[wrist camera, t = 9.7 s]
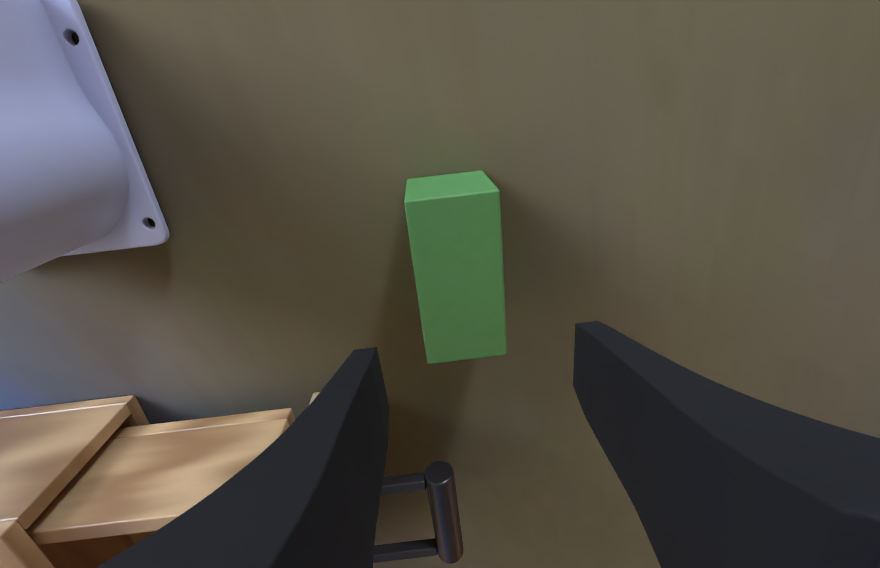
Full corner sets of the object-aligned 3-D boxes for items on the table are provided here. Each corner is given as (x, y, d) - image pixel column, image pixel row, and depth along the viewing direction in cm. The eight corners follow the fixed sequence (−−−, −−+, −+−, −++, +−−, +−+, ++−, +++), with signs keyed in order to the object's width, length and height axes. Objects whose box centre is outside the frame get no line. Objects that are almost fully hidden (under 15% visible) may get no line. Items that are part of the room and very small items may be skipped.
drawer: (443, 377, 22) (452, 475, 16) (461, 523, 27) (473, 637, 21) (64, 421, 22) (-60, 536, 16) (152, 559, 27) (81, 684, 21)
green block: (406, 178, 18) (403, 200, 14) (482, 169, 18) (500, 189, 14) (425, 316, 21) (427, 365, 17) (491, 308, 21) (507, 355, 17)
